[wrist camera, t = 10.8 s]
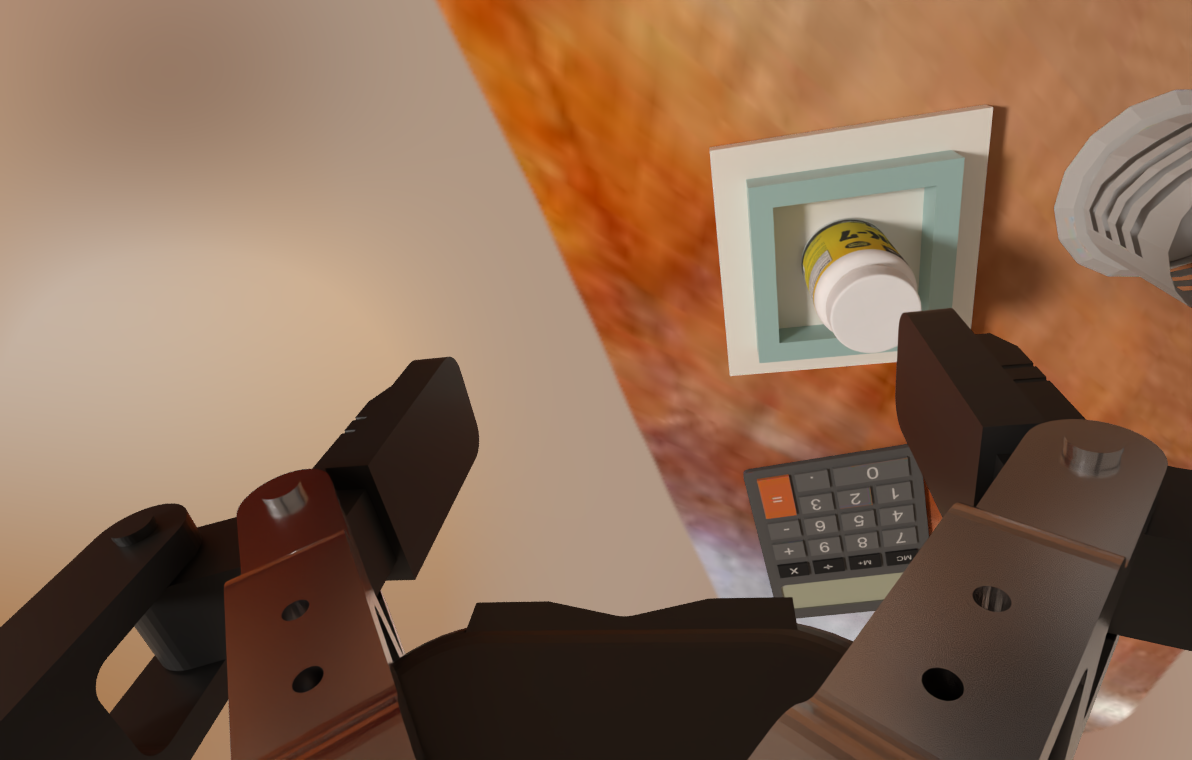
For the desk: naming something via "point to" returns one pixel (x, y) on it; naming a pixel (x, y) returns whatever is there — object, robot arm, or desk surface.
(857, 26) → the desk surface
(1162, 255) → the french press
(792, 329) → the dock socket
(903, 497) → the calculator
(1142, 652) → the desk surface
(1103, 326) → the desk surface
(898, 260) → the supplement bottle
